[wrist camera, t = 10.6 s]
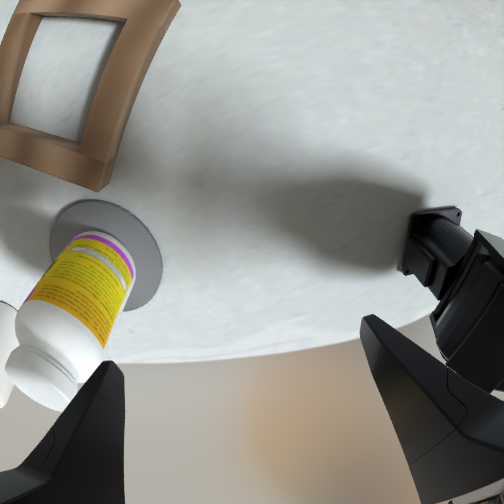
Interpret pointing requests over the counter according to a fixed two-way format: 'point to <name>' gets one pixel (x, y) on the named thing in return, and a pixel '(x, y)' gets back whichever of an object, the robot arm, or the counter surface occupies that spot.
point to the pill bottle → (6, 348)
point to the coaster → (121, 228)
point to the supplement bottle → (71, 319)
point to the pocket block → (107, 94)
